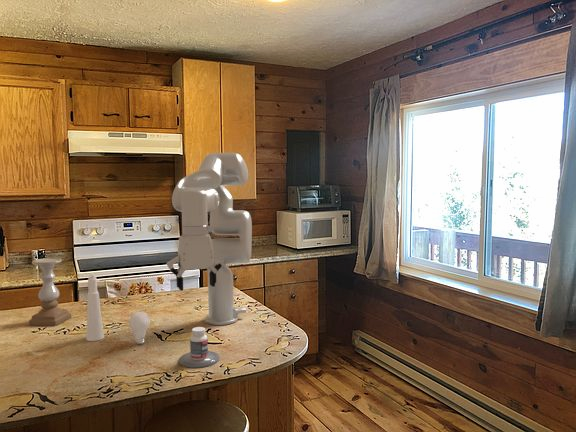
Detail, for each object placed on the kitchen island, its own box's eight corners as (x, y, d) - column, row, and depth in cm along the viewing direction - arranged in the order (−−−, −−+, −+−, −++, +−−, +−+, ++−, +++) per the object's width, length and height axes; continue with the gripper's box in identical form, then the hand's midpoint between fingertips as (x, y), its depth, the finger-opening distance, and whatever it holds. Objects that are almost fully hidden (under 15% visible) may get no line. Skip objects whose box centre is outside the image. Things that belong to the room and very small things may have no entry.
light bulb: (139, 349, 156) (137, 316, 155) (125, 345, 160) (124, 312, 158) (154, 342, 162) (153, 310, 161) (141, 339, 165) (139, 307, 164)
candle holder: (71, 317, 191) (68, 257, 188) (55, 326, 180) (52, 263, 177) (45, 316, 192) (42, 257, 189) (28, 325, 181) (24, 262, 178)
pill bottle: (204, 361, 144) (203, 332, 143) (187, 360, 145) (186, 331, 144) (210, 354, 149) (209, 326, 148) (194, 353, 150) (193, 325, 149)
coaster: (212, 349, 155) (212, 347, 155) (224, 363, 144) (224, 361, 144) (175, 356, 150) (175, 354, 150) (184, 370, 139) (184, 368, 139)
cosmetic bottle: (81, 340, 165) (78, 276, 163) (94, 334, 170) (91, 273, 168) (96, 342, 163) (92, 278, 161) (108, 336, 168) (105, 274, 166)
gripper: (219, 227, 151) (220, 281, 152) (163, 231, 143) (165, 288, 145) (227, 230, 144) (228, 287, 146) (168, 234, 136) (170, 294, 138)
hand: (196, 287), depth 145 cm, fingers open, 9 cm apart
